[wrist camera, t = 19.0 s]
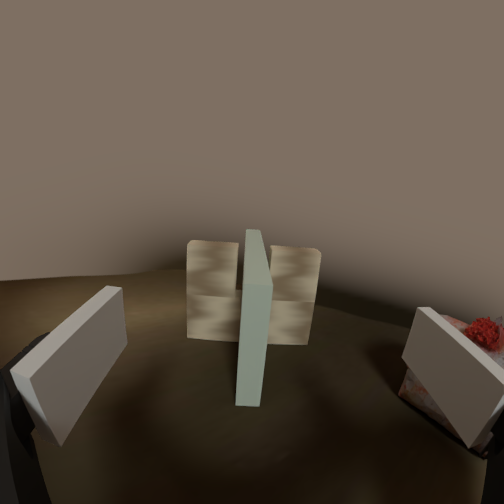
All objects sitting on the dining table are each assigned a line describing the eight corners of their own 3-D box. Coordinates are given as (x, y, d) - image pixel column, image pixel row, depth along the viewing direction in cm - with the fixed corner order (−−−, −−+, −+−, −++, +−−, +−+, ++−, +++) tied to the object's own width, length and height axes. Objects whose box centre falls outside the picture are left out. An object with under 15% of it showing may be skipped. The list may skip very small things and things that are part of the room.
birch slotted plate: (187, 337, 32) (187, 244, 30) (191, 327, 35) (191, 239, 32) (307, 344, 33) (321, 253, 30) (303, 334, 35) (316, 248, 33)
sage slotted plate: (259, 406, 22) (273, 285, 20) (235, 405, 22) (243, 283, 20) (254, 300, 45) (260, 230, 43) (241, 299, 45) (246, 229, 43)
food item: (381, 394, 23) (411, 300, 21) (426, 370, 27) (452, 289, 24) (481, 471, 11) (548, 368, 9) (513, 426, 14) (559, 336, 12)
